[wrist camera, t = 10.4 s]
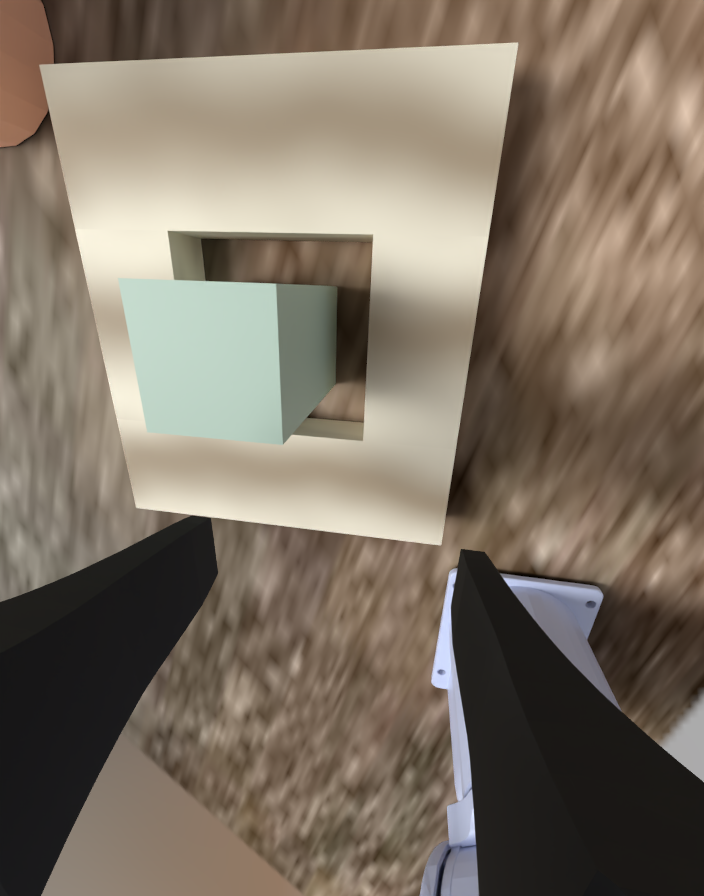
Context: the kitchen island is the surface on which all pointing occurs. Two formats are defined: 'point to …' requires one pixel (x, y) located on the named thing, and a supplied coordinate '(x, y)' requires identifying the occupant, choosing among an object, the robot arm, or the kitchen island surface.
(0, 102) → the salt shaker
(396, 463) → the board with square hole
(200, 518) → the robot arm
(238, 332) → the peg
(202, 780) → the kitchen island surface
